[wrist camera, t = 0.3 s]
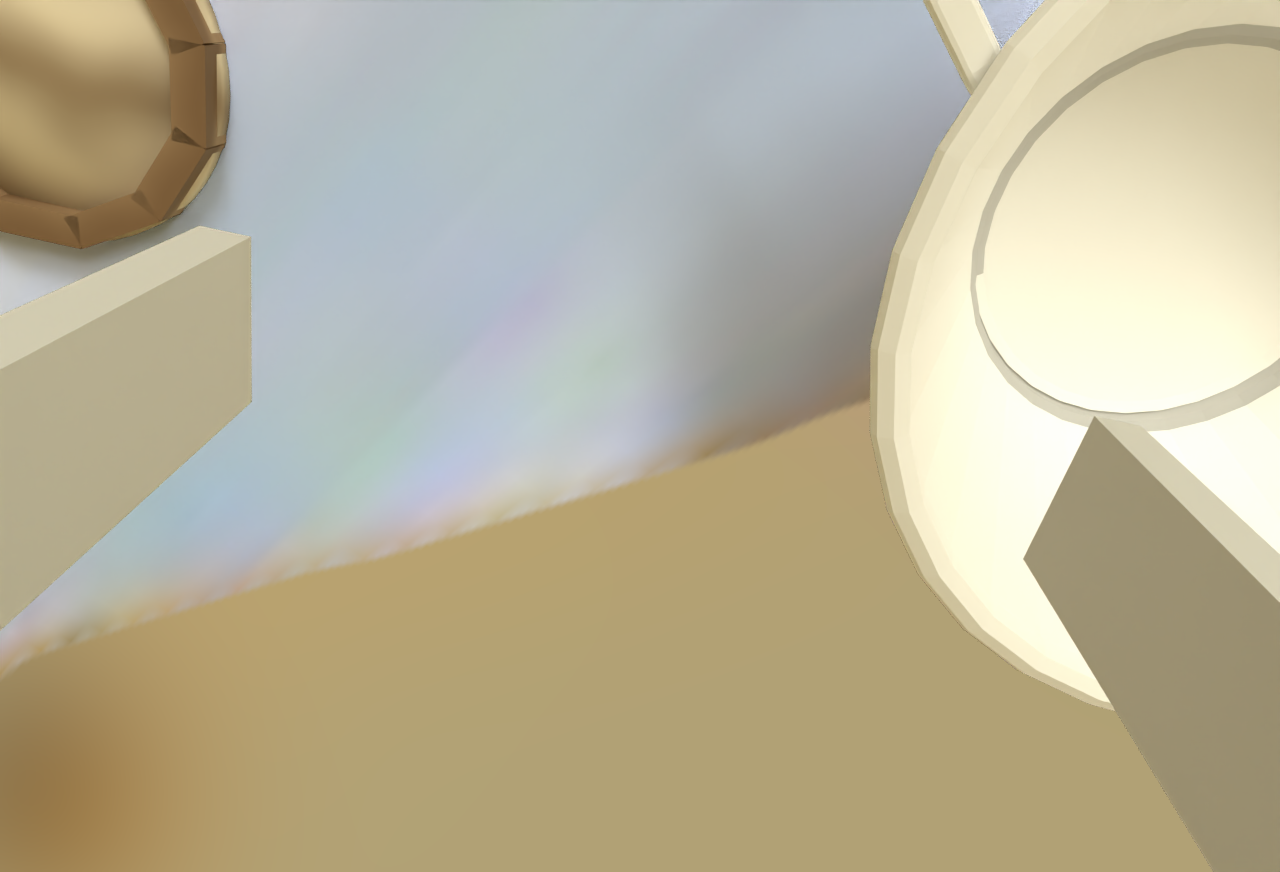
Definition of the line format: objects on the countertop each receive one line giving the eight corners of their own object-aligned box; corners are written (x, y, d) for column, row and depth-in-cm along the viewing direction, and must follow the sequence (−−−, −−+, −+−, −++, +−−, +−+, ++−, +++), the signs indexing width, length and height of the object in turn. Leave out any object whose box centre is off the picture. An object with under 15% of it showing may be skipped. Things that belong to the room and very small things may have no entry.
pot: (630, 66, 37) (601, 97, 24) (1444, -547, 27) (2096, -1023, 15) (1017, 673, 51) (1128, 896, 38) (1646, 402, 41) (2073, 576, 29)
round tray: (-189, -220, 34) (-233, -232, 32) (229, -118, 34) (207, -124, 33) (-113, 195, 41) (-146, 203, 39) (230, 271, 42) (212, 281, 40)
